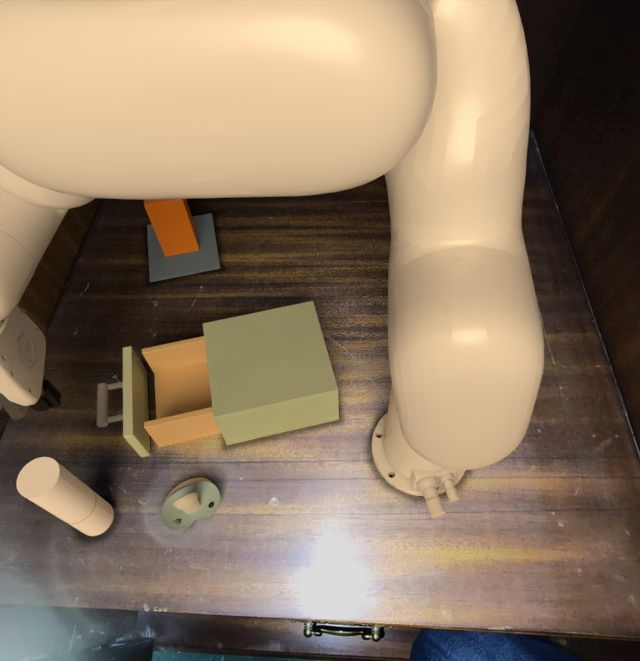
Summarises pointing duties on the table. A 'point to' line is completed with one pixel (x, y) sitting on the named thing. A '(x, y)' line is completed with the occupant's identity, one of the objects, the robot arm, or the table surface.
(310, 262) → the table surface
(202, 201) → the table surface
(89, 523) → the tube
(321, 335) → the cabinet
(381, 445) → the robot arm
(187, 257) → the mat
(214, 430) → the drawer
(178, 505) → the pacifier
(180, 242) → the orange rectangular block
